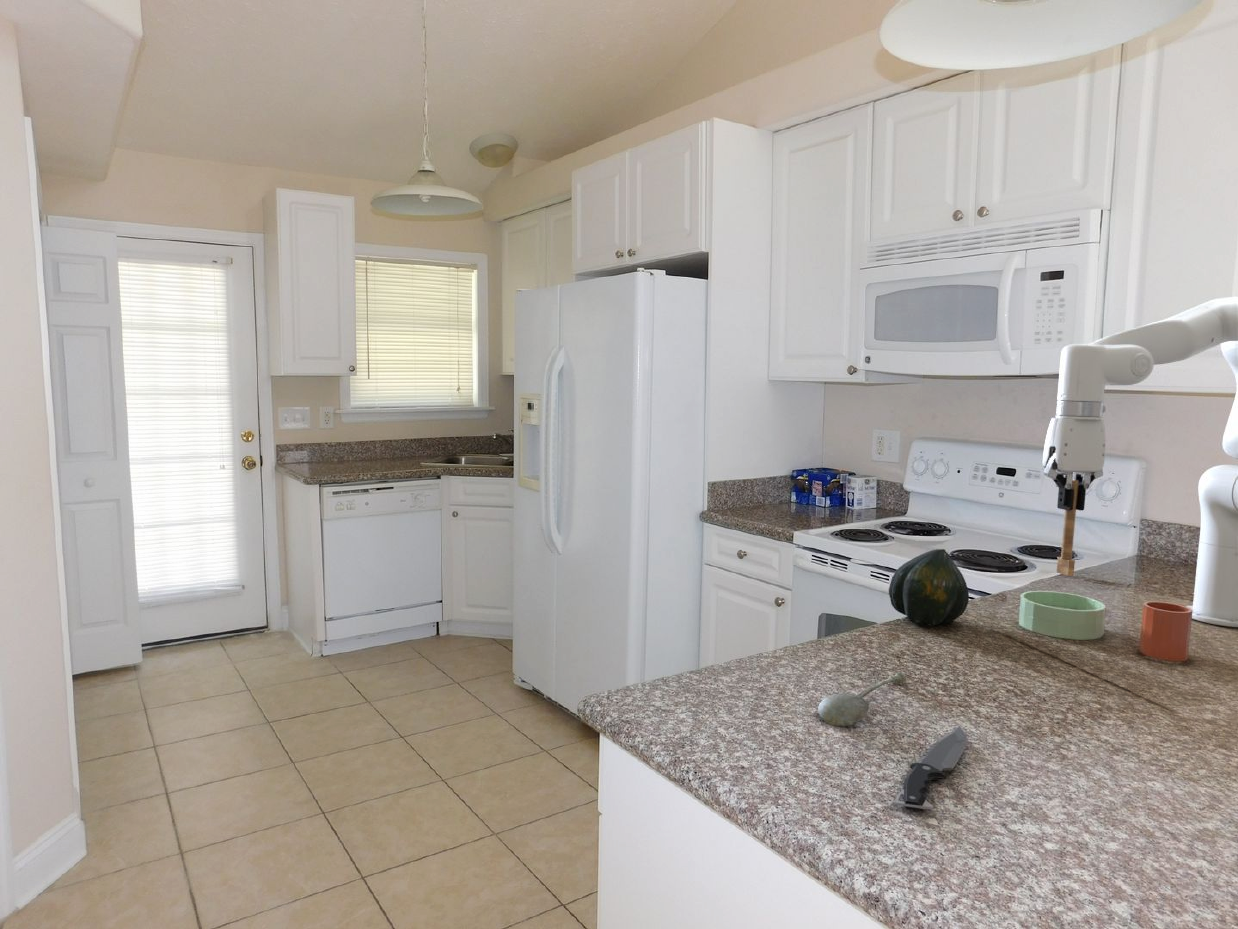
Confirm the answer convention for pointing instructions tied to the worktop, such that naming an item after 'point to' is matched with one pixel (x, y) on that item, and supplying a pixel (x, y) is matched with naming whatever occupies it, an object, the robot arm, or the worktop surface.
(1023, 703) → the worktop surface
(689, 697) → the worktop surface
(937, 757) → the knife
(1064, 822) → the worktop surface
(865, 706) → the soupspoon
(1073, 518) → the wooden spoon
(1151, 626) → the crock
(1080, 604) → the bowl
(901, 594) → the squash
